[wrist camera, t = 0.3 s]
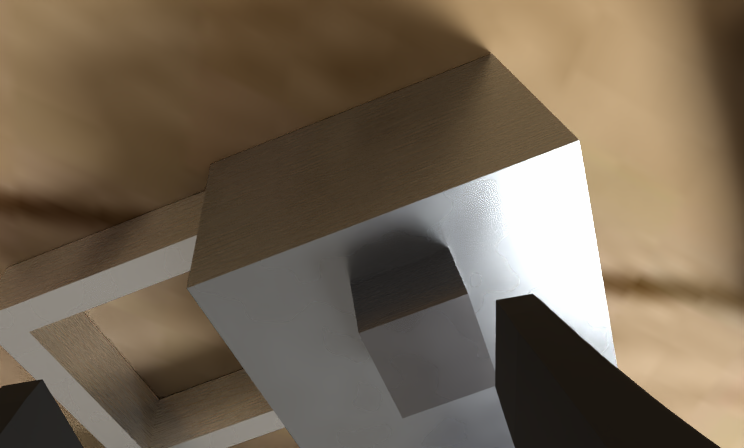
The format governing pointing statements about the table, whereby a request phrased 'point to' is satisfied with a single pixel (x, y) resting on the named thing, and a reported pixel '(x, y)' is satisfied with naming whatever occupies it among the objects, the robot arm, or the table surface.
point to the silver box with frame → (336, 277)
